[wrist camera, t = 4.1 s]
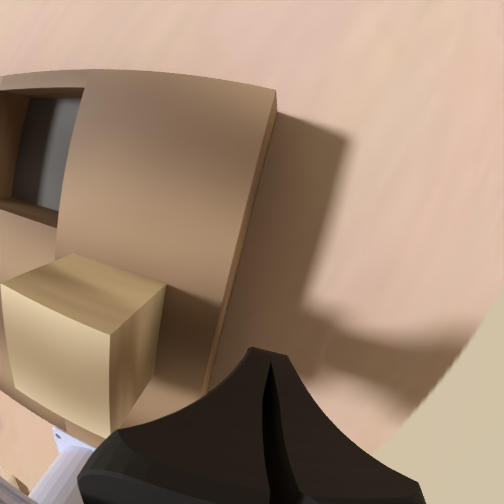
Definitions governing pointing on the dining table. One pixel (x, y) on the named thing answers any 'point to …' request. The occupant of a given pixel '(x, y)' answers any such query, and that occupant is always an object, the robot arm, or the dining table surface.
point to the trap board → (134, 202)
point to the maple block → (83, 338)
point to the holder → (8, 477)
